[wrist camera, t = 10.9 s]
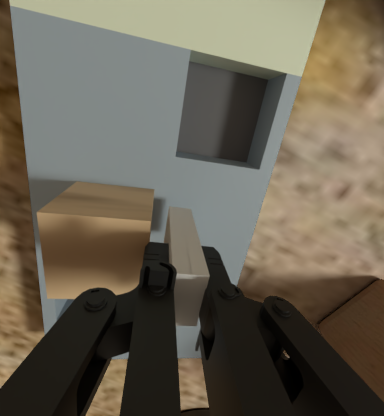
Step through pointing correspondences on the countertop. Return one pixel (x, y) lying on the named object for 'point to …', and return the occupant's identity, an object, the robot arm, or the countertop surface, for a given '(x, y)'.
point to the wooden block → (360, 335)
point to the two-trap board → (161, 109)
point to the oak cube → (94, 238)
